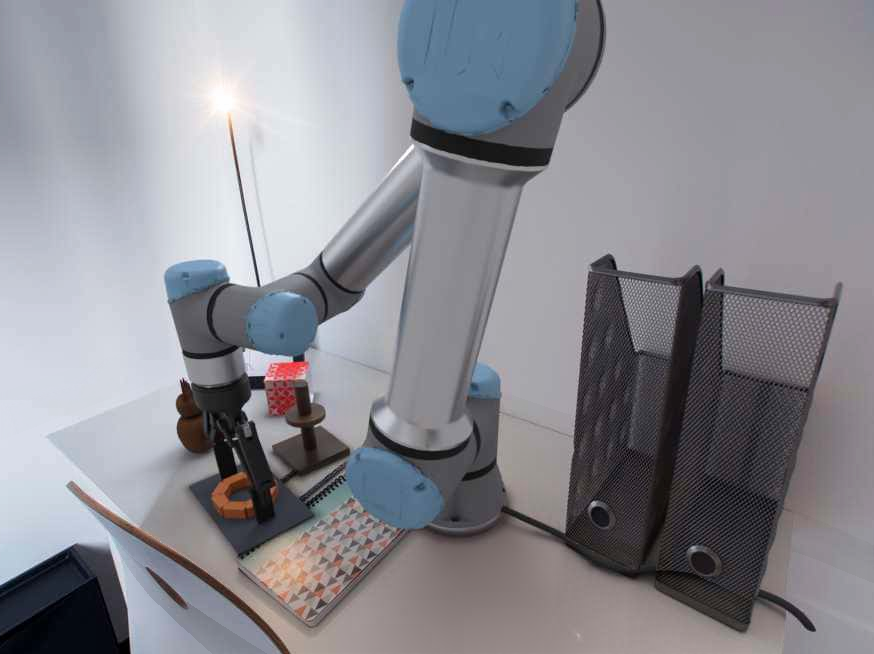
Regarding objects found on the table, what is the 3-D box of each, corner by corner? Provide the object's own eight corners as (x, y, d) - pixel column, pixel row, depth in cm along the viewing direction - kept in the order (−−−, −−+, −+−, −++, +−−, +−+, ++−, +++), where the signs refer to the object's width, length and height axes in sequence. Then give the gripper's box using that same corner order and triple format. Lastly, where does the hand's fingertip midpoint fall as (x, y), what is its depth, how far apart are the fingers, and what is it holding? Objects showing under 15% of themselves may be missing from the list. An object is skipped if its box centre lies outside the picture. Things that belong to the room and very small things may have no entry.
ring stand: (350, 454, 94) (342, 384, 87) (300, 477, 88) (287, 405, 81) (321, 431, 101) (311, 365, 94) (272, 452, 95) (259, 383, 88)
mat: (315, 516, 80) (314, 514, 80) (239, 555, 73) (239, 553, 73) (257, 458, 93) (256, 456, 93) (189, 487, 87) (188, 485, 87)
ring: (287, 499, 83) (286, 490, 82) (230, 527, 78) (227, 518, 77) (261, 472, 89) (259, 463, 88) (206, 496, 84) (203, 487, 83)
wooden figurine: (207, 460, 93) (186, 385, 86) (177, 457, 94) (155, 382, 87) (226, 439, 99) (208, 367, 92) (198, 436, 100) (179, 365, 93)
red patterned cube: (277, 396, 113) (270, 363, 109) (314, 394, 113) (309, 361, 110) (270, 416, 106) (263, 381, 102) (309, 413, 107) (304, 378, 103)
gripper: (286, 400, 66) (307, 527, 77) (211, 341, 83) (236, 452, 94) (228, 421, 62) (259, 552, 73) (162, 355, 79) (194, 469, 89)
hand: (246, 496), depth 83 cm, fingers open, 13 cm apart
